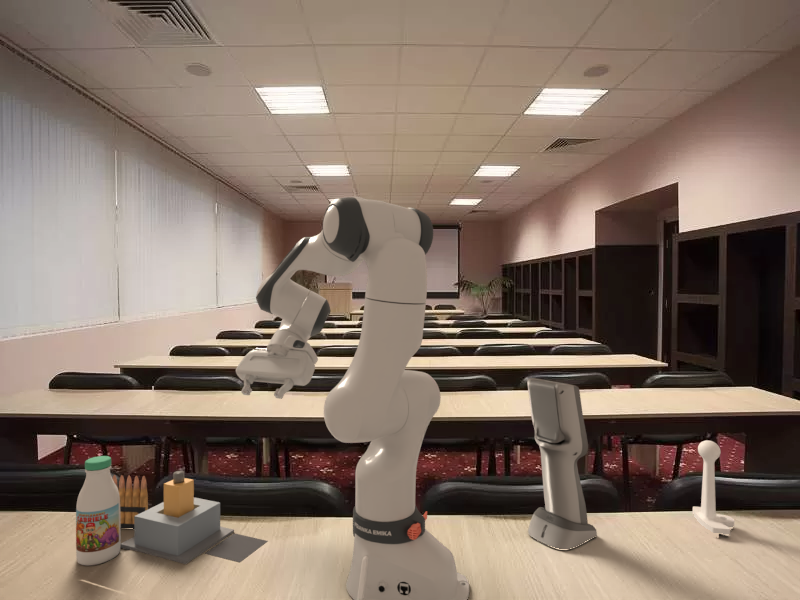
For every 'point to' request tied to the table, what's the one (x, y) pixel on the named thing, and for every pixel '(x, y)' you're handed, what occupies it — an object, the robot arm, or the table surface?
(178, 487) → the plug
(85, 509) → the milk bottle
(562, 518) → the thermal camera
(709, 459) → the joystick
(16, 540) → the table surface
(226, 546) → the mat
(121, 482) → the ammunition clip
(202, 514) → the housing
